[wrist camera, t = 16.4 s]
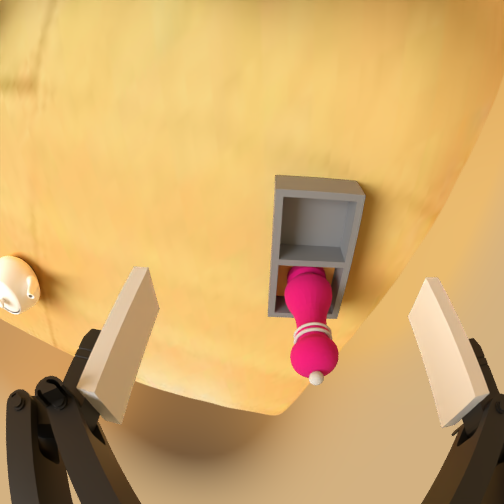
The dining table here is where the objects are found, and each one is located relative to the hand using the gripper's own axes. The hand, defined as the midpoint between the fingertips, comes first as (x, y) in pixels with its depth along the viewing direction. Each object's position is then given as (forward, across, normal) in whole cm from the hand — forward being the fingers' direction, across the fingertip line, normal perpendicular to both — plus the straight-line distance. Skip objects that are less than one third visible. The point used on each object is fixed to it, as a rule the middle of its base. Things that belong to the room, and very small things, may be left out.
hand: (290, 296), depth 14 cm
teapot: (+29, -56, -28) cm, 69 cm away
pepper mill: (+28, +5, -22) cm, 36 cm away
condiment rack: (+29, +5, -17) cm, 34 cm away
